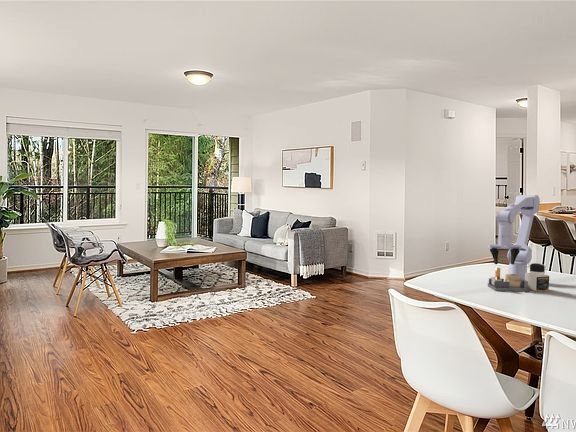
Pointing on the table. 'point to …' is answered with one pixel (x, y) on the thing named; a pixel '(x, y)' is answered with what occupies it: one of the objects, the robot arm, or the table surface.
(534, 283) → the medicine bottle
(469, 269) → the table surface
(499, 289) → the press frame
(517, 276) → the light wooden block
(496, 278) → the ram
